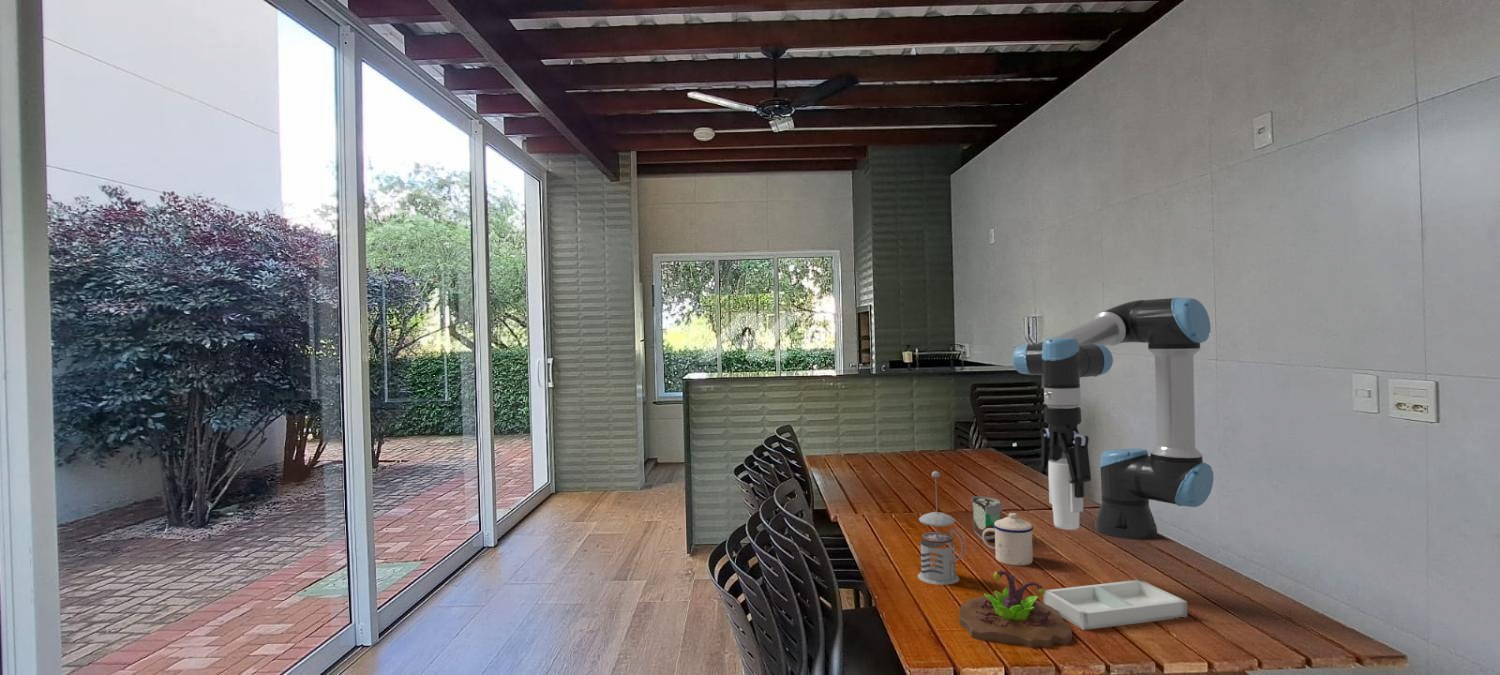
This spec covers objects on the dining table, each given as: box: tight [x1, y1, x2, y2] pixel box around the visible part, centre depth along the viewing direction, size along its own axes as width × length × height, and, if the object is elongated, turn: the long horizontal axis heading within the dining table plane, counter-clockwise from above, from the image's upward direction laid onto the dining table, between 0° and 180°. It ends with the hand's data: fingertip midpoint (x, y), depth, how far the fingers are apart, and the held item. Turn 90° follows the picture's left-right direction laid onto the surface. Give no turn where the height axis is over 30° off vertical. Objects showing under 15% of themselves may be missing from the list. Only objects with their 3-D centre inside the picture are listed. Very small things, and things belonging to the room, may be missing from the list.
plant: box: [958, 570, 1073, 649], centre depth 130 cm, size 20×20×11 cm
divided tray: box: [1042, 579, 1188, 631], centre depth 134 cm, size 23×12×4 cm, turn 101°
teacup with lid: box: [982, 512, 1034, 567], centre depth 167 cm, size 12×9×12 cm
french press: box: [917, 470, 967, 586], centre depth 155 cm, size 10×12×25 cm
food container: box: [971, 495, 1003, 543], centre depth 186 cm, size 12×6×10 cm, turn 179°
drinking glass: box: [1048, 458, 1081, 531], centre depth 152 cm, size 7×7×15 cm
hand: (1066, 507), depth 152 cm, fingers closed on drinking glass, 7 cm apart
